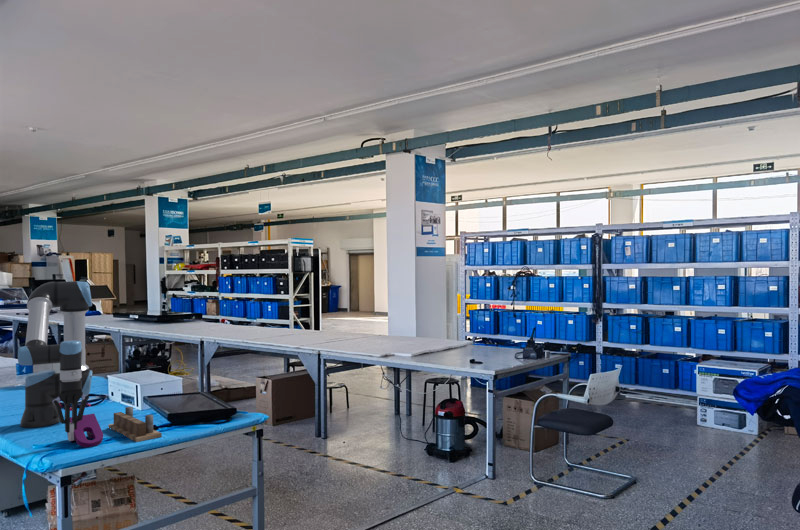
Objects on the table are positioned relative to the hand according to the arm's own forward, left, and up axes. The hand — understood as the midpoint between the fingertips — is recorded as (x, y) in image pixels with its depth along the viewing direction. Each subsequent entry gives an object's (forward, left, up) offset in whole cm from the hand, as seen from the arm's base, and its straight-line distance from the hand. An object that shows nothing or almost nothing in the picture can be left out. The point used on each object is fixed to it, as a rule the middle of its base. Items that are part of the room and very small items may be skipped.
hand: (70, 439), depth 227 cm
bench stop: (0, +24, -2) cm, 24 cm away
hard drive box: (-151, +29, -2) cm, 154 cm away
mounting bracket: (0, +5, -2) cm, 6 cm away
